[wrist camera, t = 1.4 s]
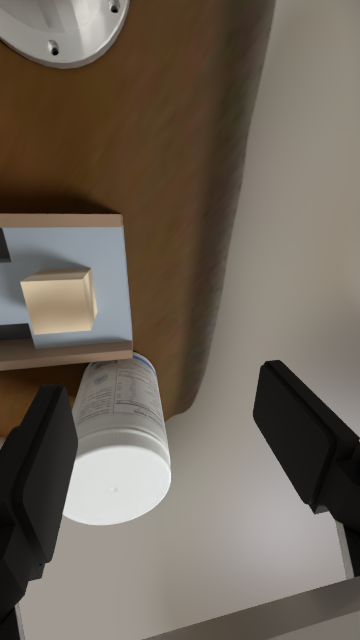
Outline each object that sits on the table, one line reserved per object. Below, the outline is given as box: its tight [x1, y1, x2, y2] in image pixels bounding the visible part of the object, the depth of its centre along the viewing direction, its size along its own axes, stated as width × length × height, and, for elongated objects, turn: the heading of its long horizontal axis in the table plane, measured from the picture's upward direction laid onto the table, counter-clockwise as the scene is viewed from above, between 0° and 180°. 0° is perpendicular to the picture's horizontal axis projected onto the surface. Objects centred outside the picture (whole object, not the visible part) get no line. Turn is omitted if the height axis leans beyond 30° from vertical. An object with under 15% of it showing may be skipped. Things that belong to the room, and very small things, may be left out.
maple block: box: [20, 268, 97, 335], centre depth 21 cm, size 4×4×4 cm
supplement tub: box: [63, 352, 171, 525], centre depth 25 cm, size 10×10×15 cm
